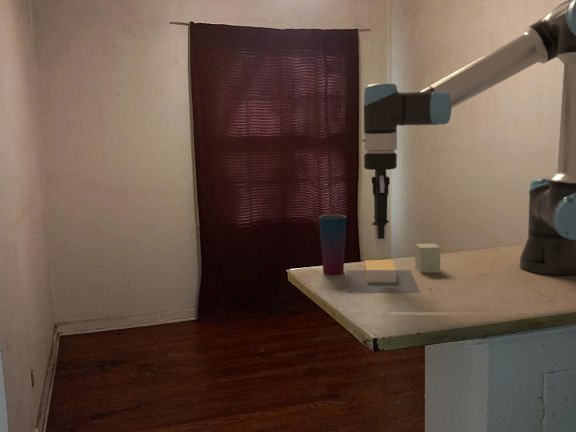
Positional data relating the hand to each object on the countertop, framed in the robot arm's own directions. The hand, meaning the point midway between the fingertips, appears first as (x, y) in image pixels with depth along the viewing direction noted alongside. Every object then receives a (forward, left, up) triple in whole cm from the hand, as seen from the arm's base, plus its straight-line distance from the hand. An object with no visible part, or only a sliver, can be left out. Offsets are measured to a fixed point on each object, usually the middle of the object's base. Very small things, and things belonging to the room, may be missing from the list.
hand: (380, 251), depth 141 cm
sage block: (-12, -9, -8) cm, 17 cm away
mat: (0, +1, -8) cm, 8 cm away
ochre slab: (0, +2, -6) cm, 6 cm away
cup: (+11, -7, -8) cm, 16 cm away
